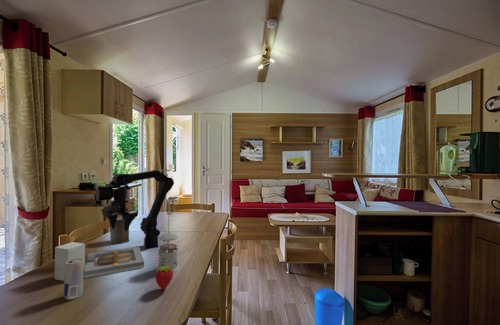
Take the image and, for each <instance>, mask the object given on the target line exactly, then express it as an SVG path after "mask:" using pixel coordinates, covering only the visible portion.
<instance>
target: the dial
mask: <svg viewBox="0 0 500 325" xmlns="http://www.w3.org/2000/svg"><path fill="white" fill-rule="evenodd" d="M115 250H116V251H114V253H111V254H107V255H104V256H102V257H100V258H98V260H97V264H98V265H99V266H105V265H111V264H114V263H123V262H129V261H131V260H132V254H130V253H127V252H117V250H118V249H115Z"/></svg>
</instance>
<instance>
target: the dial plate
mask: <svg viewBox="0 0 500 325" xmlns="http://www.w3.org/2000/svg"><path fill="white" fill-rule="evenodd" d="M116 250H117V252H127V253H130V254H132V260H131V261H129V262H123V263H114V264H111V265H105V266H99V265H98V264H97V260H98V258H100V257H102V256H104V255H107V254H111V253H114V251H116ZM144 267H145V260H144V257H143V255H142V252H141V249H140V247H139V246H134V247H127V248H119V249H114V250H113V249H112V250H106V251H105V250H104V251H98V252H97V251H96V252H91V253H90V252H89V253H88V254H87V257H86V260H85V271H84V275H83V279H88V278H92V277H93V278H94V277H98V276H99V277H100V276H103V275H104V276H105V275H111V274H115V273H116V274H117V273H121V272H122V273H123V272H126V271H131V270H132V271H133V270H137V269H143V268H144Z"/></svg>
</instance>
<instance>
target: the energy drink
mask: <svg viewBox="0 0 500 325" xmlns="http://www.w3.org/2000/svg"><path fill="white" fill-rule="evenodd" d="M83 269H84V262H83V259H80V258H77V259H71V260H68V261H66V263H65V270H64V281H63V284H64V285H63V298H64V300H67V301H72V300H76V299H78V298H80V297H81V296H83V294H84V275H83Z"/></svg>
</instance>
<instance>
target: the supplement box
mask: <svg viewBox="0 0 500 325" xmlns="http://www.w3.org/2000/svg"><path fill="white" fill-rule="evenodd" d="M77 258H80V259H83V262H84V269H83V276H84V271H85V266H86V243H83V242H82V243H81V242H76V241H75V242H74V241H71V242H68V243H65V244H61V245H59V246H56V247H54V280H58V281H62V282H64V270H65V263H66V261H68V260H71V259H77Z"/></svg>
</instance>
